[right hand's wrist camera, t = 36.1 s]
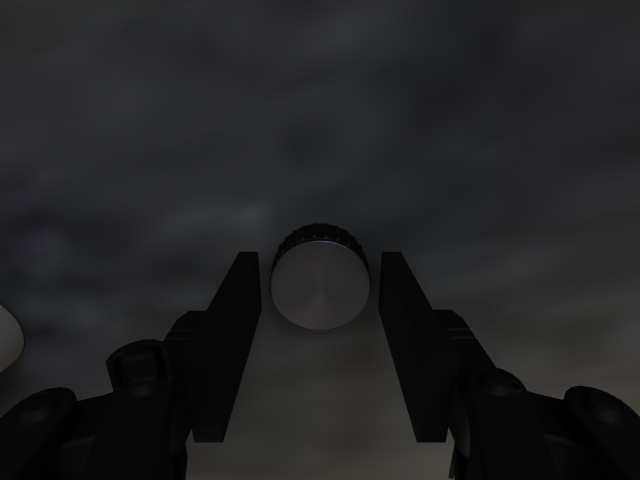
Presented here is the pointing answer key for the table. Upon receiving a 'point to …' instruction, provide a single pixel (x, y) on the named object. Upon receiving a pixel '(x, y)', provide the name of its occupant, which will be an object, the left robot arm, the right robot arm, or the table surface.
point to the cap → (320, 277)
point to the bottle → (9, 339)
